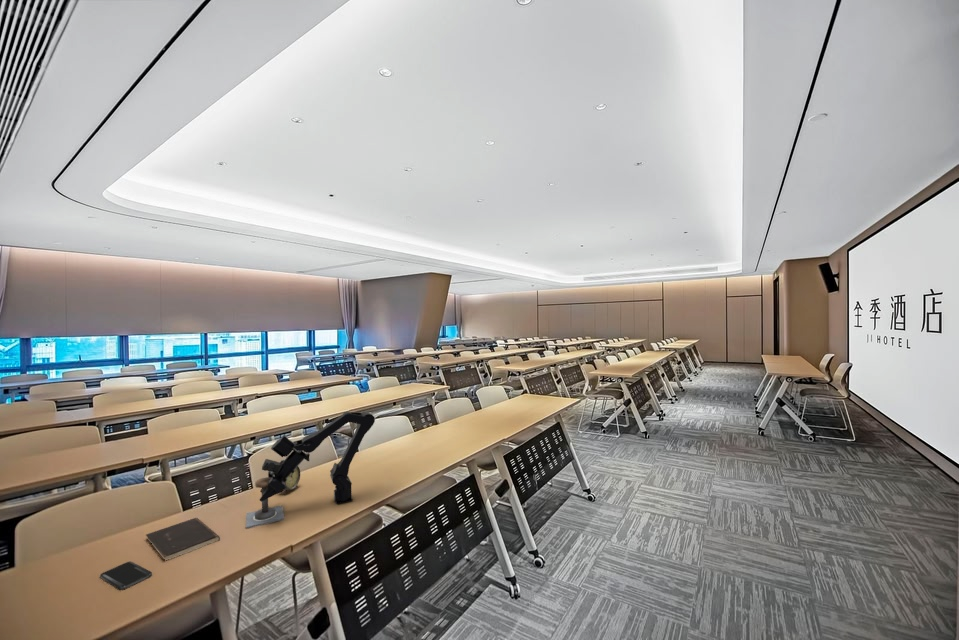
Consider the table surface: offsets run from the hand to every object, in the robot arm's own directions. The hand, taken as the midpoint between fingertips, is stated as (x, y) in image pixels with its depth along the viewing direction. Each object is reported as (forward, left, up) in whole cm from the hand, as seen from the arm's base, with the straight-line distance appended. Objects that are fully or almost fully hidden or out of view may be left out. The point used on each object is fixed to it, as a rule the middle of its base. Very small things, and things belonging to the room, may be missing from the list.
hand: (260, 496), depth 158 cm
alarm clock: (-11, -23, -9) cm, 27 cm away
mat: (-1, 0, -9) cm, 9 cm away
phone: (+37, +20, -9) cm, 43 cm away
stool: (-1, 0, -8) cm, 8 cm away
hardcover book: (+25, +3, -9) cm, 27 cm away
